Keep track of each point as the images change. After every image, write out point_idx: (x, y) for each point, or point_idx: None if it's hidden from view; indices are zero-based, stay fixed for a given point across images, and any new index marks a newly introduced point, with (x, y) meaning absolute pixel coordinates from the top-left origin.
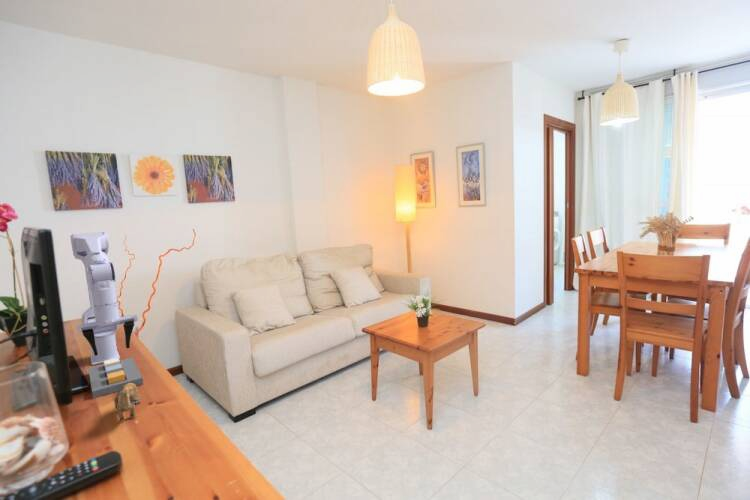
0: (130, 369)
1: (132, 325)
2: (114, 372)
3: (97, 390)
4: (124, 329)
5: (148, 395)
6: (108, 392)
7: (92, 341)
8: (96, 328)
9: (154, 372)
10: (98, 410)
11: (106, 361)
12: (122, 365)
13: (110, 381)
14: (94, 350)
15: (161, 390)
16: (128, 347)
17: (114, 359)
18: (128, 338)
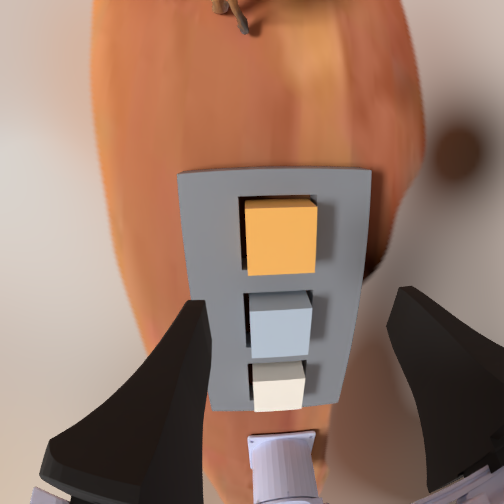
0: (220, 313)
1: (52, 449)
2: (285, 270)
3: (353, 169)
4: (192, 474)
5: (179, 47)
6: (312, 166)
7: (481, 348)
8: (461, 484)
9: (142, 271)
10: (345, 46)
11: (294, 401)
12: (245, 369)
13: (306, 202)
14: (432, 304)
15: (133, 64)
16: (192, 301)
17: (268, 404)
18: (166, 352)
